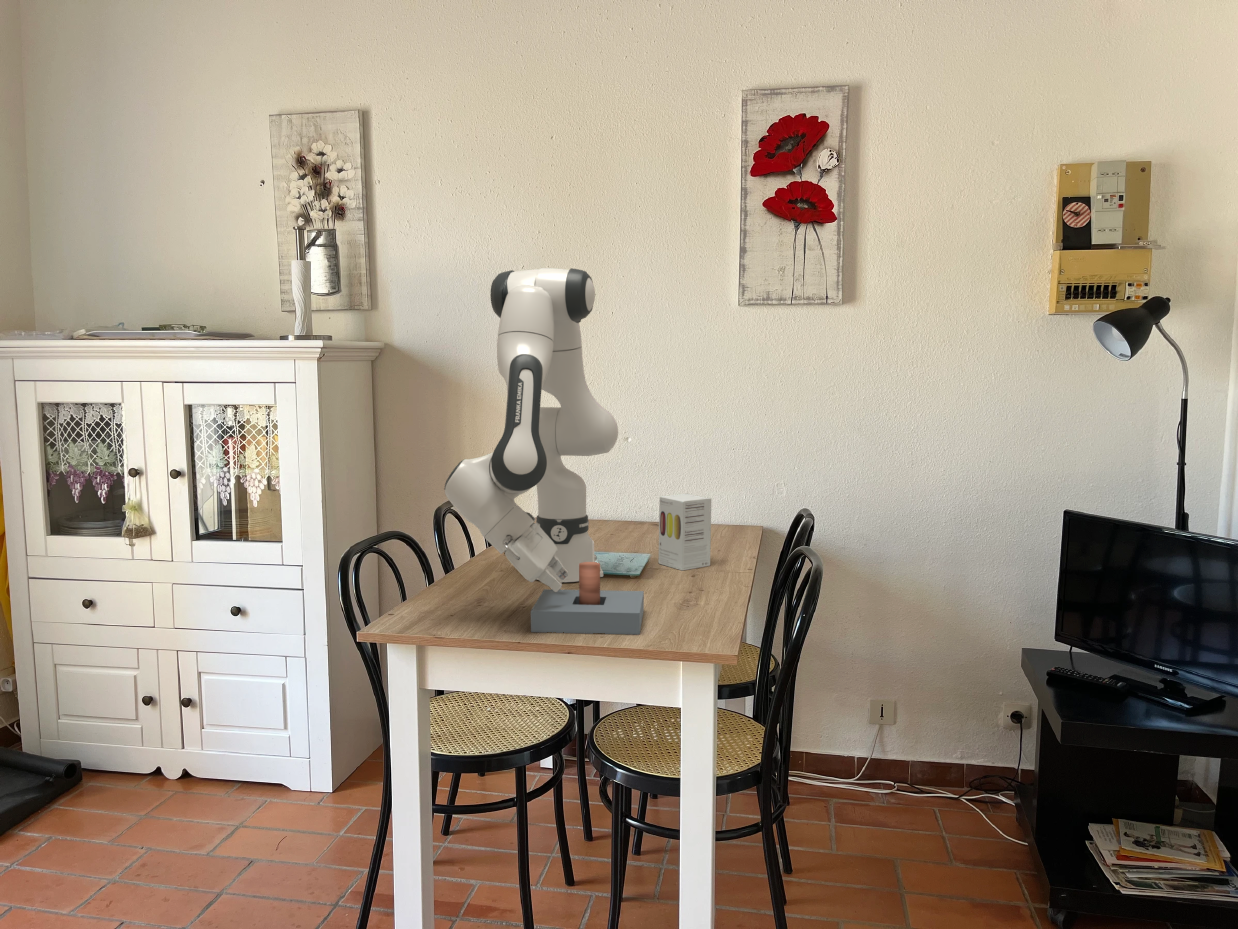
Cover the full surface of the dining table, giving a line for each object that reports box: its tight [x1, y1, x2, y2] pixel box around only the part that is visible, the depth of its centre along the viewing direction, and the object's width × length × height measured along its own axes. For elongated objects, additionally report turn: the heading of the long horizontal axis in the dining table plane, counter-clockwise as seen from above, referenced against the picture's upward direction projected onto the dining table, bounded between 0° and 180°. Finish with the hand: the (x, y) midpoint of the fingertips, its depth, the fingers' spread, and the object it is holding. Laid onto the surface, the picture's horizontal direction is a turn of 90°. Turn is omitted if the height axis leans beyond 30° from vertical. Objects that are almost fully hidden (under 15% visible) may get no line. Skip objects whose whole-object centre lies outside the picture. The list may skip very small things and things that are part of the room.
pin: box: [578, 562, 601, 605], centre depth 176 cm, size 4×4×10 cm
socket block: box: [530, 588, 645, 635], centre depth 176 cm, size 16×20×4 cm
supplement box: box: [658, 493, 712, 571], centre depth 224 cm, size 10×9×17 cm
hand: (562, 582), depth 176 cm, fingers open, 8 cm apart
